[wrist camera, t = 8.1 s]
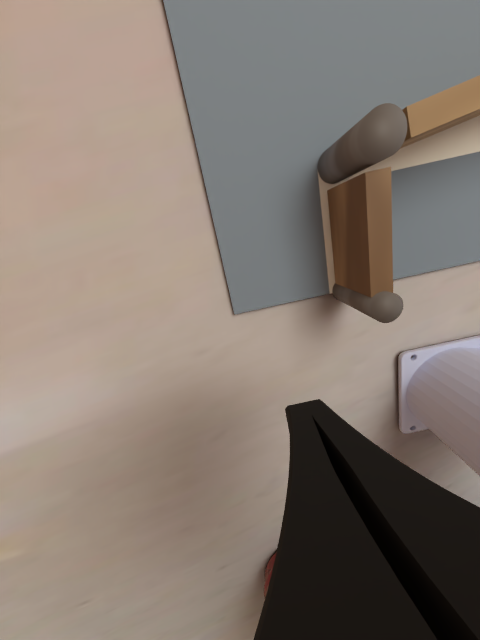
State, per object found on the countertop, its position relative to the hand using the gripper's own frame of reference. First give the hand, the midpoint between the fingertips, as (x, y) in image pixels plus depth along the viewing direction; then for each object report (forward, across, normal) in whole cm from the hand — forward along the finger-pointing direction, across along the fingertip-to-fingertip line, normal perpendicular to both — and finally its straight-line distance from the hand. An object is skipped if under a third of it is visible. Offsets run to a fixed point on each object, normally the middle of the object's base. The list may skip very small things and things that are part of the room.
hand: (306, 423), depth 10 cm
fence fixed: (+10, -6, -6) cm, 13 cm away
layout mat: (+10, -9, -12) cm, 18 cm away
